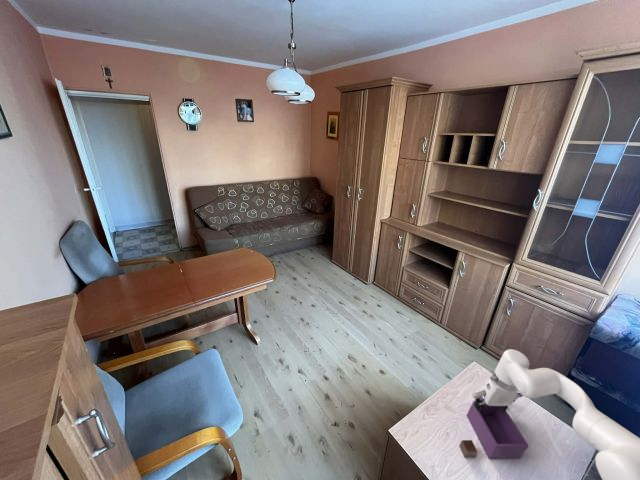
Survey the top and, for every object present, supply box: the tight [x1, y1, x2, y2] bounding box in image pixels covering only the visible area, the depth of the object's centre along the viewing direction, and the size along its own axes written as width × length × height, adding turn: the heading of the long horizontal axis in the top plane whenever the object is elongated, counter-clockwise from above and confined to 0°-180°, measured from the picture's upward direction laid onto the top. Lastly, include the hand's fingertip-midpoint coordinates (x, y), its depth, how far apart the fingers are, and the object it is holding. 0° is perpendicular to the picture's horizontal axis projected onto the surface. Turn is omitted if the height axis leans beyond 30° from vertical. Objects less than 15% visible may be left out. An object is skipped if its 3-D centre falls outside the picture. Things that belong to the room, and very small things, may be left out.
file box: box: [466, 402, 530, 460], centre depth 118 cm, size 18×14×10 cm
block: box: [458, 439, 478, 458], centre depth 113 cm, size 4×4×4 cm
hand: (489, 408), depth 103 cm, fingers open, 9 cm apart
